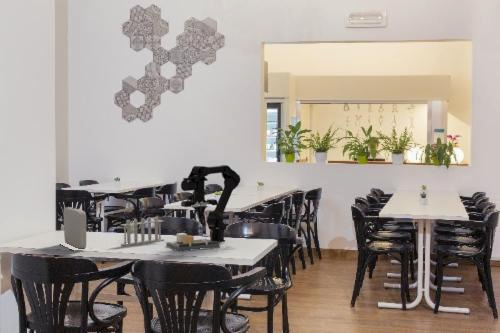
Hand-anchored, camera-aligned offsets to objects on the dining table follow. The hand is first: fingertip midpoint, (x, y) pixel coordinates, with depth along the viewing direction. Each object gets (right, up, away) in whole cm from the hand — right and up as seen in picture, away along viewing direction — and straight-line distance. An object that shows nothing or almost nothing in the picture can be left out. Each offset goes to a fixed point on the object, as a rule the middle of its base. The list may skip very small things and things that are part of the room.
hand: (199, 219), depth 382 cm
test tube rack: (-31, -13, +6) cm, 34 cm away
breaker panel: (-3, -14, -9) cm, 16 cm away
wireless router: (-64, -14, -5) cm, 66 cm away
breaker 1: (-9, -11, -6) cm, 15 cm away
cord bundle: (+1, -12, -16) cm, 20 cm away
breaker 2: (-5, -11, -14) cm, 19 cm away
